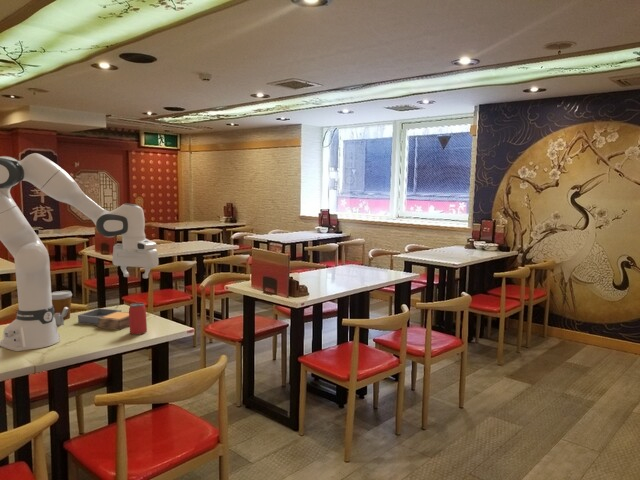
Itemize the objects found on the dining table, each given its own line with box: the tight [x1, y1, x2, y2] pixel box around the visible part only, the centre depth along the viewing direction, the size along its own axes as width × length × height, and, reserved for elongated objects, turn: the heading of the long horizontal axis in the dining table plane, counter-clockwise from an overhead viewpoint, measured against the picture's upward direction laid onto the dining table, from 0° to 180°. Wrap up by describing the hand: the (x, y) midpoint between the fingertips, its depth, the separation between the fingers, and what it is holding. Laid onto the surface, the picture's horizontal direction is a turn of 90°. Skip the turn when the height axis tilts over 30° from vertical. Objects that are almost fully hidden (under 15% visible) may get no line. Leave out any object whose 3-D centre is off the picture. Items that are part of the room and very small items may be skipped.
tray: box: [77, 307, 122, 326], centre depth 217 cm, size 13×13×4 cm
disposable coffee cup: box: [51, 290, 73, 321], centre depth 219 cm, size 10×10×12 cm
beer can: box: [128, 302, 148, 336], centre depth 198 cm, size 7×7×12 cm
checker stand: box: [97, 311, 130, 331], centre depth 210 cm, size 12×12×4 cm
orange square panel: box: [103, 311, 129, 320], centre depth 209 cm, size 9×9×1 cm
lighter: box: [53, 307, 69, 327], centre depth 209 cm, size 7×2×8 cm, turn 83°
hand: (135, 277), depth 195 cm, fingers open, 8 cm apart
